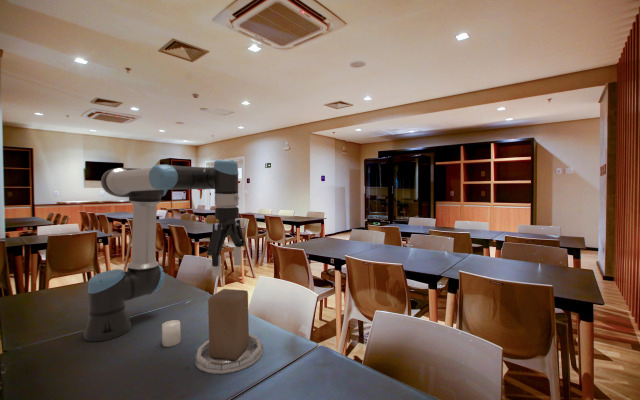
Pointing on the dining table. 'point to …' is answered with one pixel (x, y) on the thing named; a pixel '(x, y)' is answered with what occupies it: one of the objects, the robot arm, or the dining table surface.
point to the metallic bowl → (226, 365)
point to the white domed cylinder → (171, 333)
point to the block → (228, 324)
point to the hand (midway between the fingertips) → (228, 270)
